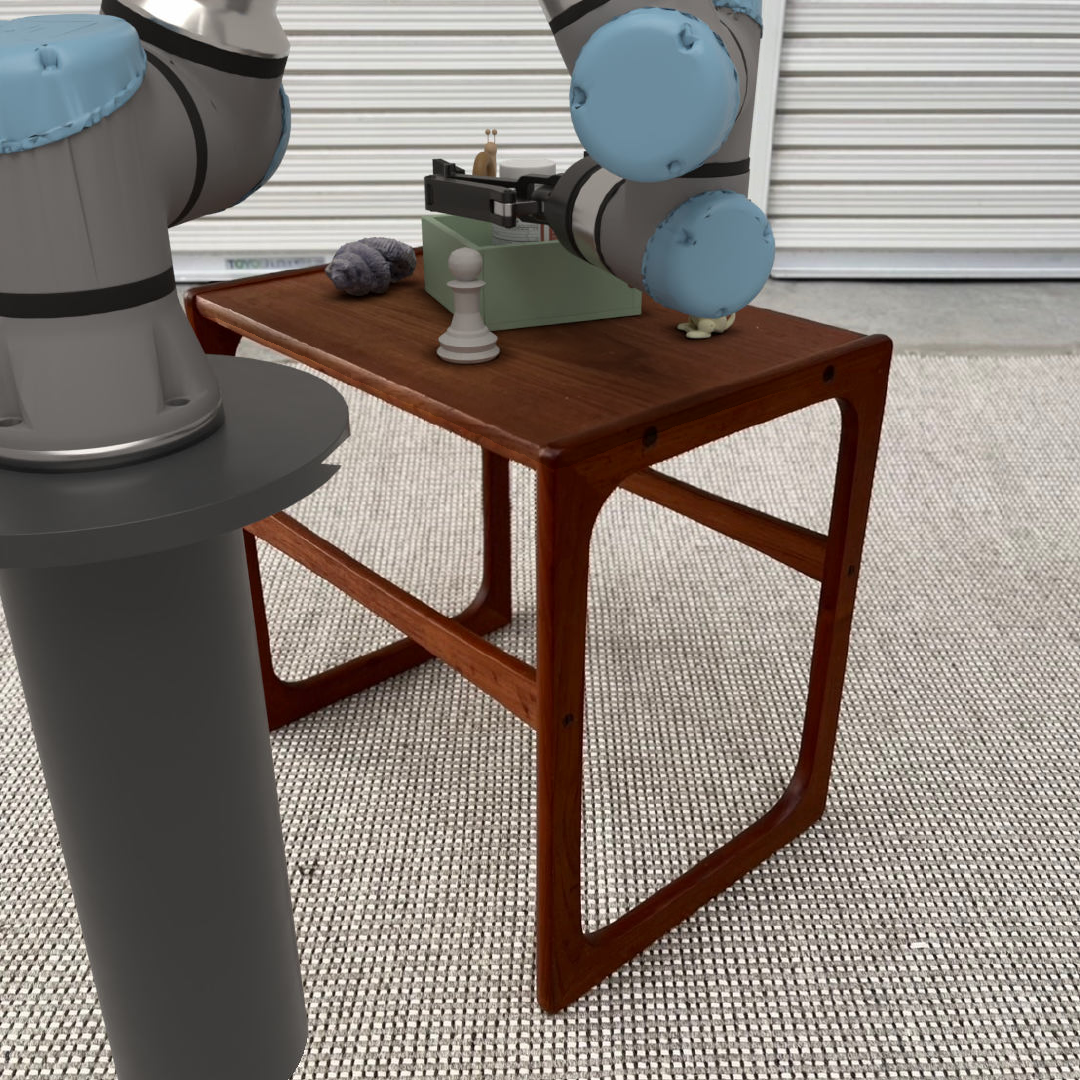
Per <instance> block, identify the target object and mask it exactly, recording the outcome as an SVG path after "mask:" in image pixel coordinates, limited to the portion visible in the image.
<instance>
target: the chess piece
mask: <svg viewBox="0 0 1080 1080" xmlns="http://www.w3.org/2000/svg"><path fill="white" fill-rule="evenodd" d="M448 266H449V270H450V272H451V274H452V275H453V276H454V277H455V278H456V279H455V280H452V281H449V282H448V283H447V285H448V286H449V287H450V288H451V289H452V290H453V294H454V305H455V313H454V314H453V317H452V320H451V324H450V326H448V327H447V329H446V331H445V332H444V333H442V334H441V335H440V336H439V337H438V343H439V345H440V346H439V347H438V348H437V349H436V353H437V355H438V357H440V359H441V360H443V361H446V362H448V363H453V364H462V365H463V364H466V365H468V364H471V365H472V364H480V363H485V362H489V361H493V360H494V359H496V358H497V357H498V355H499V354H500V352H501V350H500V347H498V345H497V344H496V343H497V342H498V336H497V335H496V334H494V333H493V331H489V330H488V327H486V326H485V325H484V323H483V320H482V317H481V315H480V312H479V299H480V289H481V288H482V287H483V286H484V285H485V282H484V281H482V280H479V279H476V278H477V277H478V276H479V274H480V273H481V271H482V268H483V259H482V257H481V255H480V253H479V252H478V251H476V250H474V249H471V248H466V247H464V248H460V249H457V250H455V251H453V252H452V253H451V255H450V257H449V260H448Z"/></svg>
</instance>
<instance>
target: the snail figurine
mask: <svg viewBox="0 0 1080 1080" xmlns="http://www.w3.org/2000/svg"><path fill="white" fill-rule="evenodd" d="M484 133H485V135H487V142H486V144H485V145H484V148H483V151H479V153H477V154H476V156H475V158H474V161H473V166H472V171H471V175H479V176H490V177H497V173H498V172H497V171H498V170H497V168H498V166H497V153H498V147H497V144H496V135H497V134H498V130H497V129H494V128H493V129H492V130H491V129H489V128H486V129H485V132H484ZM490 135H493V137H494V138H493V139H494V140H493V141H489V140H490V139H489V136H490Z"/></svg>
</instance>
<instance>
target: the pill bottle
mask: <svg viewBox="0 0 1080 1080" xmlns="http://www.w3.org/2000/svg"><path fill="white" fill-rule="evenodd" d="M498 165H499V166H498V168H499V170H498V171H499V176H498V177H501V178H511V179H519V178H520V177H521V176H524V175H527V174H543V175H555V174H557V163H556V161H555V160H552V159H546V158H512V159H505V160H503V161H500V162H499V164H498ZM542 185H544V184H535V190H536V189H538V188H539V187H541V186H542ZM553 240H558V239H557V237H556V235H555V234H554V232H553V230H552V228H550V227H549V226H548V225H543V224H534V223H525V222H522V221H520V219H519V217H518V216H516V227H514V228H510V229H506V228H505V227H501V226H498V225H496V224H493V223H492V246H494V245H506V244H518V243H530V242H541V241H553Z"/></svg>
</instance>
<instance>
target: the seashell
mask: <svg viewBox="0 0 1080 1080" xmlns="http://www.w3.org/2000/svg"><path fill="white" fill-rule="evenodd" d="M417 263H418V259H417V256H416V252H415V250H414V247H413V246H412V245H409V244H408V243H405V242H403V241H400V240H396V238H391V237H385V236H384V237H383V236H382V237H381V236H379V237H377V236H373V237H363V238H362V239H359V240H357V241H350V242H346V243H345V244H343V245H341V246H340V247H339V248H338V250H336V253H335V254H334V255H333V258H332V260H331V261H330V263H328V265H327V266H326V267H325V268H324V274H325V275H326V277H327V278H328V279H329V280H330V281H331V282H332V284H333V286H334V288H335V289H336V290H337V291H340V292H346V293H347V294H350V295H352V296H357V297H361V296H365V295H368V294H369V293H370V292H372V293H375V294H385V293H386V291H387V290H388V288H389V286H390V282H391V283H394V284H396V283H399V282H402V281H403V280H405V279H407V278H411V277H412V276H414V272H415V271H416V267H417Z"/></svg>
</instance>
